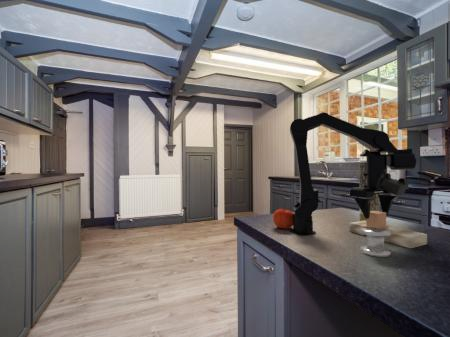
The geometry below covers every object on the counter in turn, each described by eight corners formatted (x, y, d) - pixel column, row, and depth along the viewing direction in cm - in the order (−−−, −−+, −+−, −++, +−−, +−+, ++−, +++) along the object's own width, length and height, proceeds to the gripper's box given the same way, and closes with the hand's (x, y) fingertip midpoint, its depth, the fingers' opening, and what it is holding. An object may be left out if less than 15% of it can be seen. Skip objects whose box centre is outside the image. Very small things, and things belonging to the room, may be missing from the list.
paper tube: (382, 226, 94) (382, 160, 94) (362, 225, 96) (362, 161, 95) (375, 222, 101) (375, 161, 100) (357, 221, 102) (357, 161, 102)
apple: (268, 227, 94) (268, 206, 94) (282, 224, 99) (282, 204, 99) (285, 232, 88) (285, 209, 88) (299, 228, 93) (299, 207, 93)
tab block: (366, 235, 83) (366, 211, 83) (374, 233, 84) (374, 210, 84) (378, 238, 79) (378, 213, 79) (386, 237, 81) (386, 212, 81)
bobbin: (354, 250, 69) (354, 228, 68) (371, 246, 71) (371, 226, 71) (379, 259, 62) (379, 235, 62) (397, 254, 65) (397, 232, 65)
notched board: (349, 231, 88) (349, 222, 88) (364, 228, 91) (364, 220, 91) (410, 248, 70) (410, 237, 70) (427, 244, 73) (427, 234, 73)
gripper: (381, 171, 70) (382, 225, 71) (420, 170, 78) (420, 219, 78) (348, 170, 81) (348, 218, 81) (385, 169, 88) (385, 213, 88)
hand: (376, 217), depth 82 cm, fingers open, 9 cm apart
